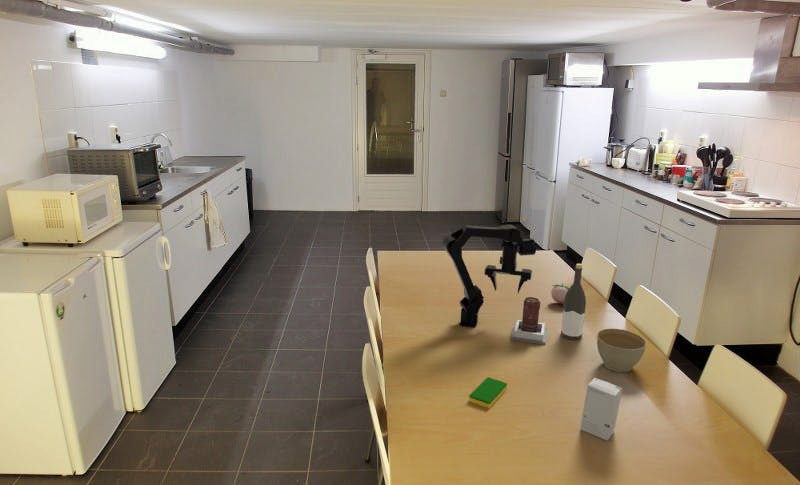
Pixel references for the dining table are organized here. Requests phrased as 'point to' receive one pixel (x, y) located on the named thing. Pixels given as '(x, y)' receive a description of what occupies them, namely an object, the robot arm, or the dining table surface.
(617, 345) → the planter bowl
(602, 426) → the skincare box
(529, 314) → the can
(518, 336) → the tray
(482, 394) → the dish sponge
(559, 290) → the decorative fruit
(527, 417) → the dining table surface
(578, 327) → the wine bottle
